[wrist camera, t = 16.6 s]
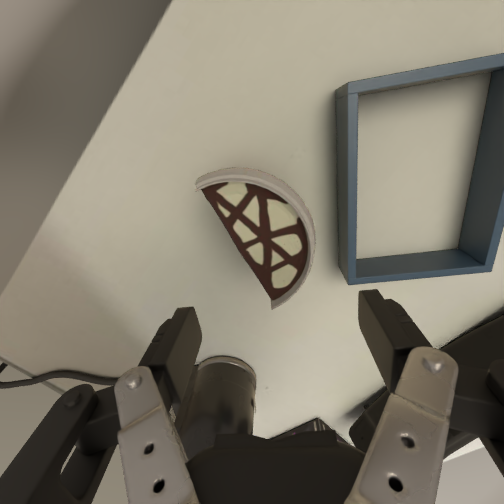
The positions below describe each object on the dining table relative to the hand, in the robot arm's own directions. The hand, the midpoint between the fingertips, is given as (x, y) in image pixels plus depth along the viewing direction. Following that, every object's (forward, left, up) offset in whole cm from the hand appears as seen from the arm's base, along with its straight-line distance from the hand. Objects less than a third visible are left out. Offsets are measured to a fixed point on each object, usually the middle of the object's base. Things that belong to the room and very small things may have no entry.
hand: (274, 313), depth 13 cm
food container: (0, +1, -17) cm, 17 cm away
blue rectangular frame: (+14, +1, -17) cm, 22 cm away
